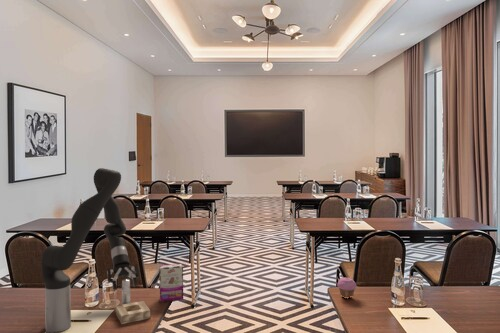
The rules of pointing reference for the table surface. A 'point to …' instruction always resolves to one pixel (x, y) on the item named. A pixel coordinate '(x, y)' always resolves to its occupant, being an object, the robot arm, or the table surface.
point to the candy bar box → (171, 282)
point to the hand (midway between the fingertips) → (125, 287)
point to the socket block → (132, 312)
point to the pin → (125, 291)
